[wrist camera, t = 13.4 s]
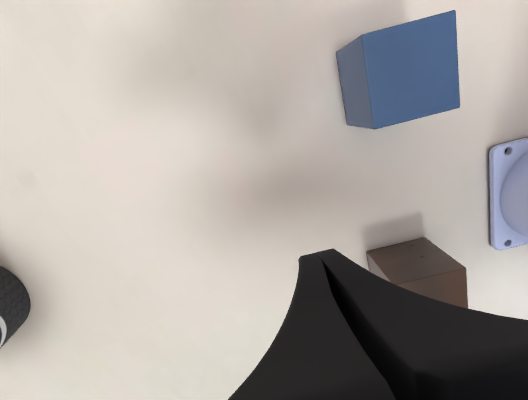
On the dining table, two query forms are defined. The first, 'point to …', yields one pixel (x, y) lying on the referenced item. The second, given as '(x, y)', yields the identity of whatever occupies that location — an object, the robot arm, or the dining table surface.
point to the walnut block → (421, 270)
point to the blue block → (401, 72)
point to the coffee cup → (11, 305)
